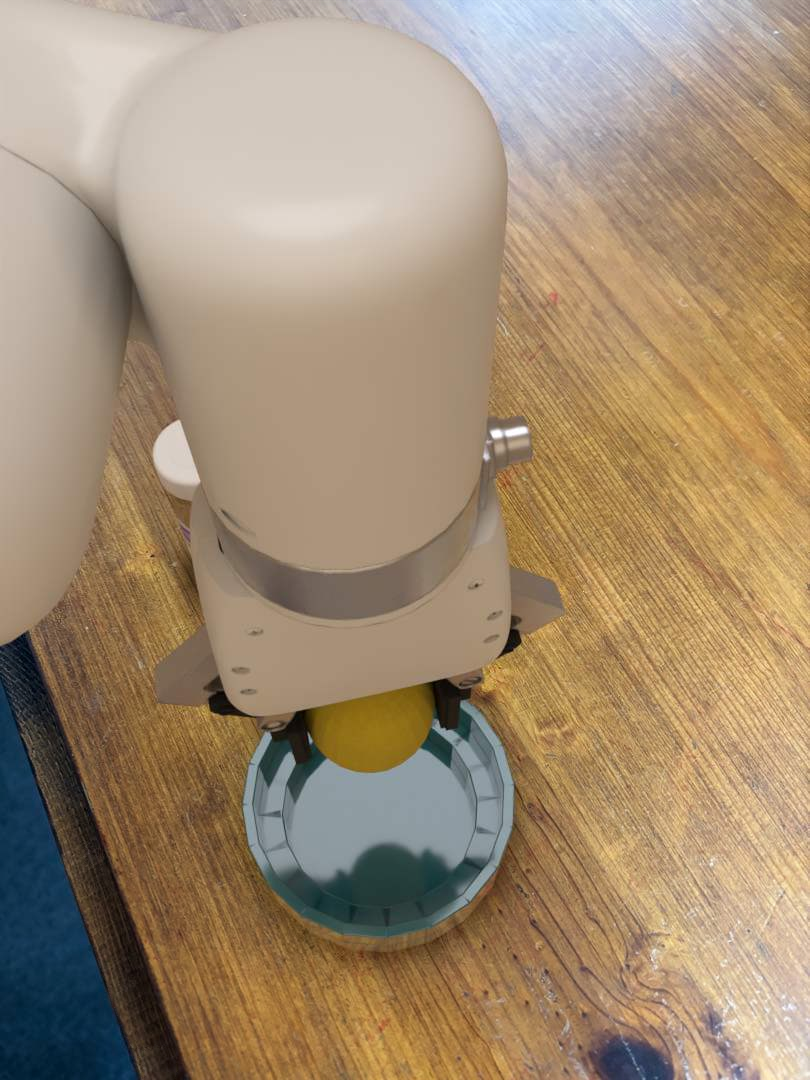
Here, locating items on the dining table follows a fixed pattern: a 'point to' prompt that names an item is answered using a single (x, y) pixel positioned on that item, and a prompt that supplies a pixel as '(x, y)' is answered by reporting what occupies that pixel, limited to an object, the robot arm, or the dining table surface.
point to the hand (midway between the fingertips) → (369, 712)
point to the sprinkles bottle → (177, 473)
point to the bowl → (382, 835)
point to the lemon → (373, 728)
